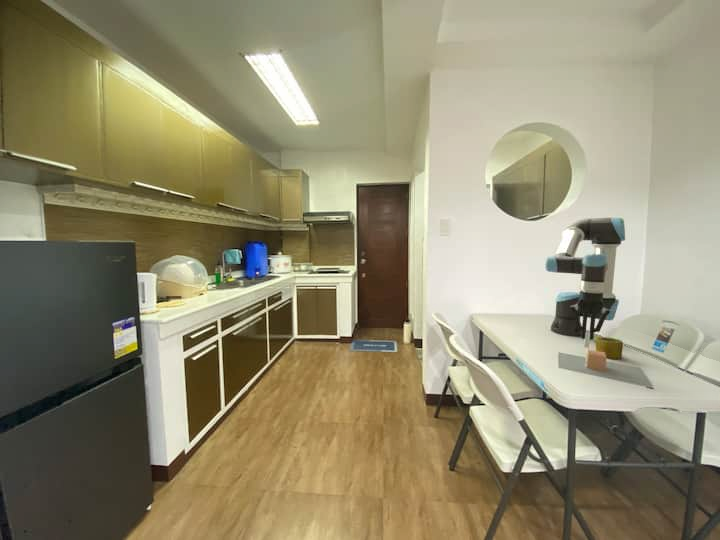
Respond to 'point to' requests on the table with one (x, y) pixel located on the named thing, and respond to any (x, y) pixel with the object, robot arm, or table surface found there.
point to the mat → (611, 370)
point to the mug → (609, 347)
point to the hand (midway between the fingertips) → (586, 346)
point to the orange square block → (595, 360)
